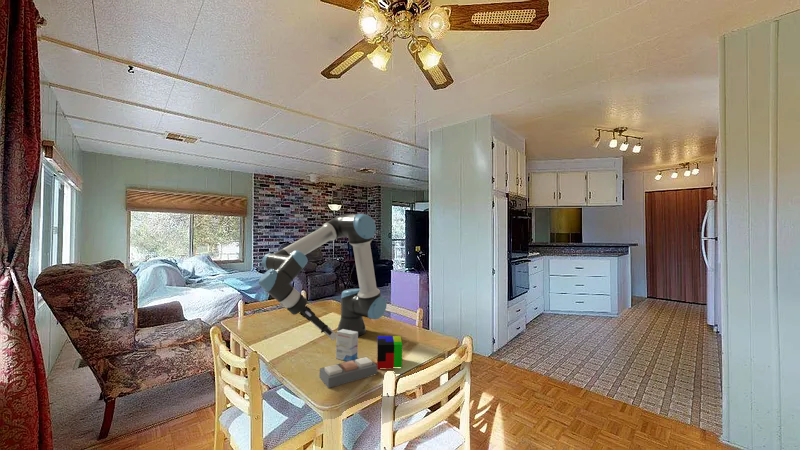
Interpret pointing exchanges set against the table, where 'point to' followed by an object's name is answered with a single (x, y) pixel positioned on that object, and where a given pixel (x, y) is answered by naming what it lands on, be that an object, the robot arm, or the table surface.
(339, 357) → the ink box
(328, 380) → the keypad
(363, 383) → the table surface
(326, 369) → the key
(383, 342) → the puzzle toy
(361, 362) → the key
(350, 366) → the middle key
